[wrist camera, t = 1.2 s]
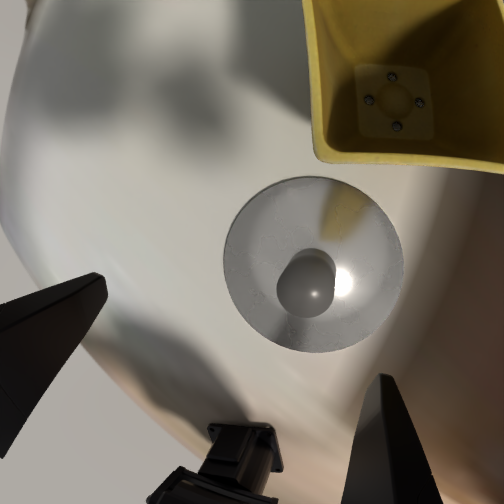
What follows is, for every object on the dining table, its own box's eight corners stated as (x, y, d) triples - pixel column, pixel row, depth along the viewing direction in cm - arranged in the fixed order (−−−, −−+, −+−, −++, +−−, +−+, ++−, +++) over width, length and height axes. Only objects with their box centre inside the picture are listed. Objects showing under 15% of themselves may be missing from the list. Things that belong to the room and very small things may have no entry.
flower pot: (318, 37, 16) (294, -42, 8) (447, 44, 14) (496, -21, 6) (327, 168, 18) (312, 163, 10) (460, 174, 16) (535, 179, 8)
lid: (404, 340, 20) (412, 371, 16) (245, 351, 24) (227, 380, 20) (390, 165, 18) (401, 163, 14) (211, 195, 21) (183, 200, 18)
